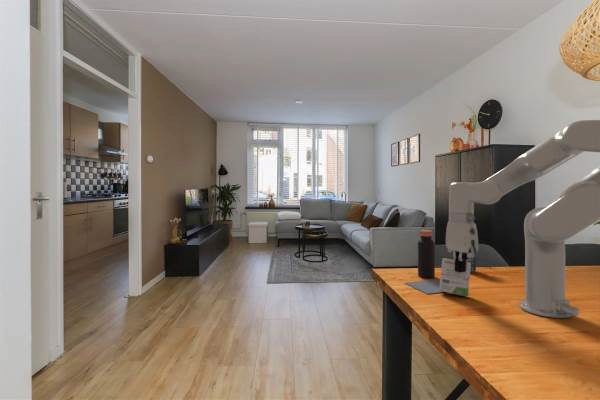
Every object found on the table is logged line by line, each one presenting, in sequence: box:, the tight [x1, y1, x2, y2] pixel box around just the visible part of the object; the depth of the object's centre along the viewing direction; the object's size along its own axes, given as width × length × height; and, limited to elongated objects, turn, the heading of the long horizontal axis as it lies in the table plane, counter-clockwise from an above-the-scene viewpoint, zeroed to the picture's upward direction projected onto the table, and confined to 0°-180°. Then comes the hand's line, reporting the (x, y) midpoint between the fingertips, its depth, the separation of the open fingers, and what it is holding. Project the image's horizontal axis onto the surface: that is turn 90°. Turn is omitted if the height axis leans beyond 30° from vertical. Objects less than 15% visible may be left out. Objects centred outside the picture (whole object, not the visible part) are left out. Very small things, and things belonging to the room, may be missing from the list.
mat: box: [404, 278, 445, 295], centre depth 117 cm, size 14×16×1 cm
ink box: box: [439, 257, 471, 297], centre depth 108 cm, size 8×5×12 cm, turn 48°
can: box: [463, 252, 477, 273], centre depth 140 cm, size 6×6×15 cm
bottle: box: [417, 229, 436, 279], centre depth 131 cm, size 7×7×20 cm
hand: (460, 271), depth 103 cm, fingers closed
